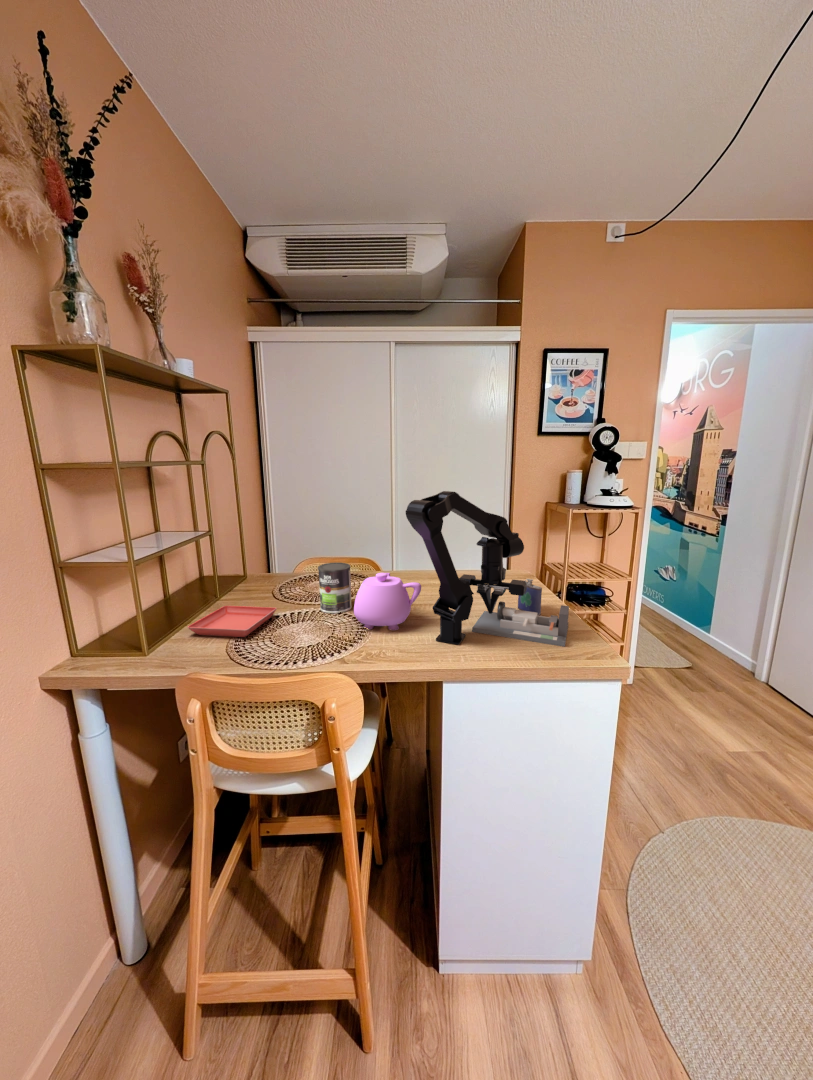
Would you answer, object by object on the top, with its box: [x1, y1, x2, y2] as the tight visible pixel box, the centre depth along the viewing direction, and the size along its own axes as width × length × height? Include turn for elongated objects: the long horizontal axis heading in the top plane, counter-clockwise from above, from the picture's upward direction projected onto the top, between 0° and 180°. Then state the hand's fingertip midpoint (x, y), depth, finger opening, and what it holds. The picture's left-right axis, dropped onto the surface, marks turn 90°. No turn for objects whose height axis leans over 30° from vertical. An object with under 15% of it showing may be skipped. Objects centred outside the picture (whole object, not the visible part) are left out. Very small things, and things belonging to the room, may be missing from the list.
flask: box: [517, 578, 543, 616], centre depth 125 cm, size 9×3×11 cm, turn 25°
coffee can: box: [317, 562, 352, 614], centre depth 131 cm, size 10×10×14 cm
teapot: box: [353, 572, 422, 631], centre depth 119 cm, size 20×20×15 cm
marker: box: [549, 614, 559, 630], centre depth 107 cm, size 2×9×3 cm, turn 155°
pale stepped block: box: [496, 601, 539, 626], centre depth 111 cm, size 10×9×6 cm
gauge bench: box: [471, 604, 570, 647], centre depth 112 cm, size 24×14×7 cm, turn 65°
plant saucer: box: [187, 605, 278, 638], centre depth 118 cm, size 18×18×3 cm
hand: (490, 613), depth 116 cm, fingers closed
